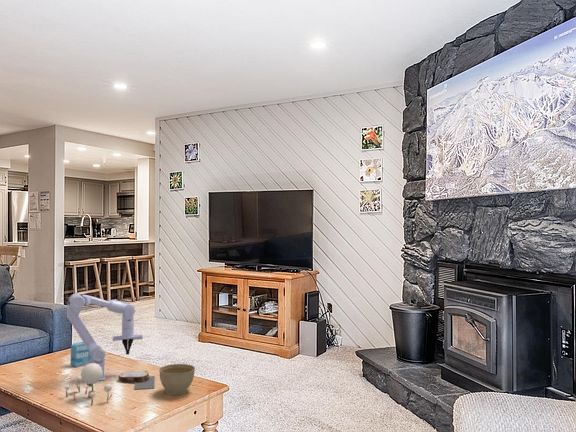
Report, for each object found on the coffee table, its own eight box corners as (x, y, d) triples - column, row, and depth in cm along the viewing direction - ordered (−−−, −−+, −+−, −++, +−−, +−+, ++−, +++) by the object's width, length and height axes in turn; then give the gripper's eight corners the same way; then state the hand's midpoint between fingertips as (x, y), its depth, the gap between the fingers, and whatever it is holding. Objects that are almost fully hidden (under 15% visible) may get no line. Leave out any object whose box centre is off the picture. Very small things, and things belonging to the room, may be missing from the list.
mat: (134, 389, 225) (134, 389, 225) (136, 378, 242) (136, 377, 242) (154, 388, 227) (154, 387, 227) (154, 376, 244) (154, 375, 244)
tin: (145, 382, 234) (151, 377, 242) (145, 375, 234) (151, 371, 242) (115, 382, 235) (122, 378, 243) (115, 375, 235) (122, 371, 244)
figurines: (118, 400, 211) (119, 366, 212) (94, 409, 201) (95, 372, 202) (83, 389, 225) (84, 356, 225) (60, 396, 215) (61, 362, 215)
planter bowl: (201, 392, 223) (201, 368, 223) (170, 401, 211) (171, 376, 212) (182, 383, 234) (182, 361, 234) (152, 391, 223) (152, 368, 223)
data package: (74, 367, 257) (75, 345, 258) (70, 366, 260) (70, 344, 260) (95, 363, 267) (95, 341, 267) (90, 361, 270) (91, 340, 270)
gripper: (142, 325, 254) (142, 350, 254) (113, 326, 250) (113, 352, 250) (142, 327, 247) (142, 354, 247) (112, 329, 243) (112, 356, 243)
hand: (127, 353), depth 248 cm, fingers closed
